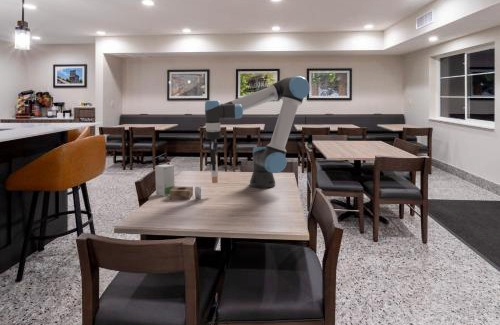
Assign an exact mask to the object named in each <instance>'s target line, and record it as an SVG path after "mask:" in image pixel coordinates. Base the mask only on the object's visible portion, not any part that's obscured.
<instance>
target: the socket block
mask: <svg viewBox="0 0 500 325" xmlns="http://www.w3.org/2000/svg"><path fill="white" fill-rule="evenodd" d="M193 196H194V187H193V186H177V185H175V186H174V187H173V188H172V189H171V190H170V195H169V200H173V201H174V200H175V201H176V200H178V201H179V200H181V201H183V200H185V201H188V200H191V198H192V197H193Z"/></svg>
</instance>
